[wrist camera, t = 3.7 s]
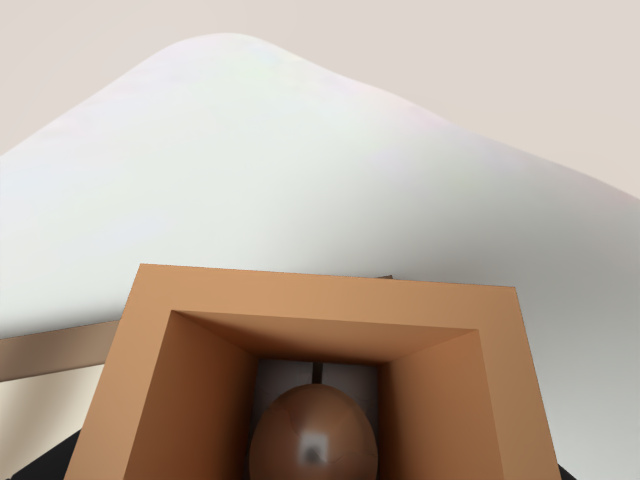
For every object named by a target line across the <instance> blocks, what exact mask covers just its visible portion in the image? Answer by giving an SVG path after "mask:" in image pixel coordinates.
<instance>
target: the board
mask: <svg viewBox="0 0 640 480" xmlns="http://www.w3.org/2000/svg"><path fill="white" fill-rule="evenodd" d="M378 278H379V279H393V278H392V275H390V276H384V277H378ZM119 322H120V320H116V321H110V322H104V323H98V324H91V325H85V326H79V327H73V328H67V329H61V330H55V331H49V332H43V333H37V334H30V335H24V336H18V337H12V338H6V339H0V480H5V479H7V478H11V476H12V475H13V474H14V473H16V472H17V471H19V470H20V469H22V468H23V467H25V466H26V465H28V464H29V463H31V462H32V461H34V460H35V459H37V458H38V457H40V456H41V455H43V454H44V453H46V452H47V451H49V450H50V449H52V448H53V447H55V446H56V445H57V444H59V443H60V442H62V441H63V440H65V439H66V438H68V437H69V436H71V435H72V434H74V433H75V432H77V431H78V430H80V429H81V428H82V426H83V424H84V421H85V418H86V415H87V412H88V409H89V407H90V404H91V401H92V398H93V395H94V393H95V390H96V387H97V384H98V381H99V379H100V376H101V373H102V370H103V367H104V364H105V362H106V359H107V356H108V353H109V350H110V348H111V345H112V342H113V339H114V336H115V333H116V331H117V328H118V325H119ZM321 369H322V363H316V362H313V374H312V384H321Z"/></svg>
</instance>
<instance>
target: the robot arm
mask: <svg viewBox="0 0 640 480" xmlns="http://www.w3.org/2000/svg"><path fill="white" fill-rule="evenodd" d="M81 429H82V428H81ZM81 429H80V430H78V431H77V432H75V433H74V434H72V435H71V436H69V437H68V438H66V439H65V440H63V441H62V442H60V443H59V444H57V445H56V446H55V447H53V448H52V449H50V450H49V451H47V452H46V453H44V454H43V455H41V456H40V457H38V458H37V459H35V460H34V461H32V462H31V463H29V464H28V465H26V466H25V467H23V468H22V469H20V470H19V471H17V472H16V473H14V474H13V475H12V476H11V478H7V479H5V480H64V477H65V474H66V471H67V469H68V466H69V463H70V460H71V457H72V455H73V452H74V449H75V446H76V443H77V440H78V438H79V435H80V432H81ZM558 467H559V471H560V476H561V480H577V479H576V478H574V477H573V476H572V475H571V474H570V473H568V472H567V471H566V470H565V469H564V468H562V467H561V466H560V465H559V464H558Z"/></svg>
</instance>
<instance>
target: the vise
mask: <svg viewBox="0 0 640 480" xmlns="http://www.w3.org/2000/svg"><path fill="white" fill-rule="evenodd" d="M312 374H313V362H301V361H286V360H271V359H259V362H258V369H257V377H256V384H255V391H254V398H253V405H252V412H251V419H250V426H249V433H248V440H247V447H246V454H245V461H244V468H243V475H242V480H380V469H379V427H378V384H377V367H376V366H361V365H346V364H331V363H322V369H321V384H312Z"/></svg>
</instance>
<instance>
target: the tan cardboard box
mask: <svg viewBox="0 0 640 480" xmlns="http://www.w3.org/2000/svg"><path fill="white" fill-rule="evenodd" d="M259 359H271V360H286V361H301V362H316V363H331V364H346V365H361V366H376V367H377V384H378V427H379V469H380V480H561V476H560V471H559V467H558V463H557V459H556V455H555V451H554V447H553V442H552V438H551V434H550V430H549V426H548V422H547V418H546V413H545V409H544V405H543V401H542V397H541V393H540V389H539V384H538V380H537V376H536V372H535V368H534V364H533V360H532V355H531V351H530V347H529V343H528V339H527V335H526V331H525V326H524V322H523V318H522V314H521V310H520V306H519V302H518V297H517V293H516V289H515V287H506V286H490V285H474V284H458V283H442V282H426V281H411V280H395V279H379V278H363V277H347V276H331V275H315V274H300V273H284V272H268V271H252V270H236V269H220V268H204V267H188V266H173V265H157V264H141V263H140V266H139V269H138V272H137V274H136V277H135V280H134V283H133V286H132V288H131V291H130V294H129V297H128V300H127V303H126V305H125V308H124V311H123V314H122V317H121V319H120V322H119V325H118V328H117V331H116V333H115V336H114V339H113V342H112V345H111V348H110V350H109V353H108V356H107V359H106V362H105V364H104V367H103V370H102V373H101V376H100V379H99V381H98V384H97V387H96V390H95V393H94V395H93V398H92V401H91V404H90V407H89V409H88V412H87V415H86V418H85V421H84V424H83V426H82V429H81V432H80V435H79V438H78V440H77V443H76V446H75V449H74V452H73V455H72V457H71V460H70V463H69V466H68V469H67V471H66V474H65V477H64V480H242V475H243V468H244V461H245V454H246V447H247V440H248V433H249V426H250V419H251V412H252V405H253V398H254V391H255V384H256V377H257V369H258V362H259Z"/></svg>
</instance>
